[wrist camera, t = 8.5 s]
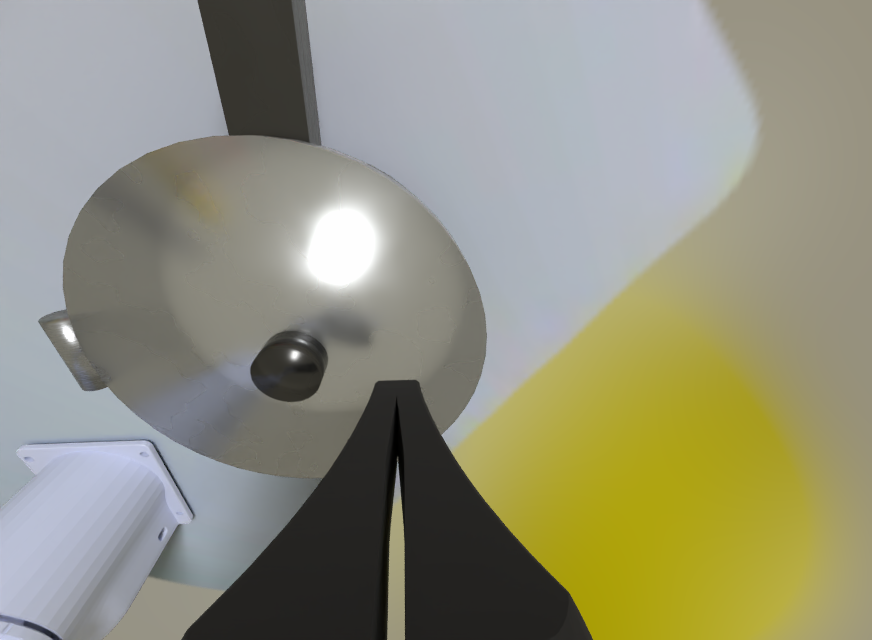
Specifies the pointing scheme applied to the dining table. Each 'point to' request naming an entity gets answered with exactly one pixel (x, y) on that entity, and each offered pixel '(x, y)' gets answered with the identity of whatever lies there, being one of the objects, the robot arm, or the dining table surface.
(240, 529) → the dining table surface
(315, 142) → the cooker pot
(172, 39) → the dining table surface
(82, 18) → the dining table surface
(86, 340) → the cooker lid
